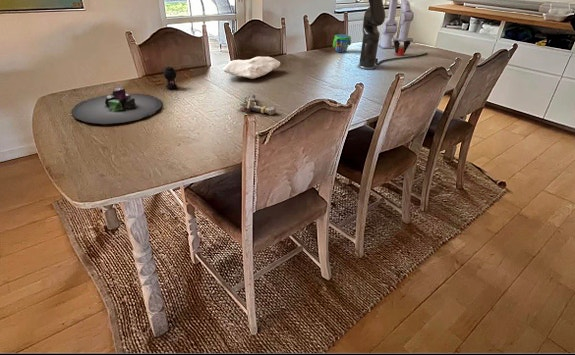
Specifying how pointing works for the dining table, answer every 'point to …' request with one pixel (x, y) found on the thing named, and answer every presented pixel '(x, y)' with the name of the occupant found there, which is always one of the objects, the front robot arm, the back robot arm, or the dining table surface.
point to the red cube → (400, 51)
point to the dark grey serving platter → (116, 108)
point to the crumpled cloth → (252, 67)
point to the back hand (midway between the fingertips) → (399, 52)
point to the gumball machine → (170, 77)
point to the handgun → (255, 106)
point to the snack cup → (341, 42)
